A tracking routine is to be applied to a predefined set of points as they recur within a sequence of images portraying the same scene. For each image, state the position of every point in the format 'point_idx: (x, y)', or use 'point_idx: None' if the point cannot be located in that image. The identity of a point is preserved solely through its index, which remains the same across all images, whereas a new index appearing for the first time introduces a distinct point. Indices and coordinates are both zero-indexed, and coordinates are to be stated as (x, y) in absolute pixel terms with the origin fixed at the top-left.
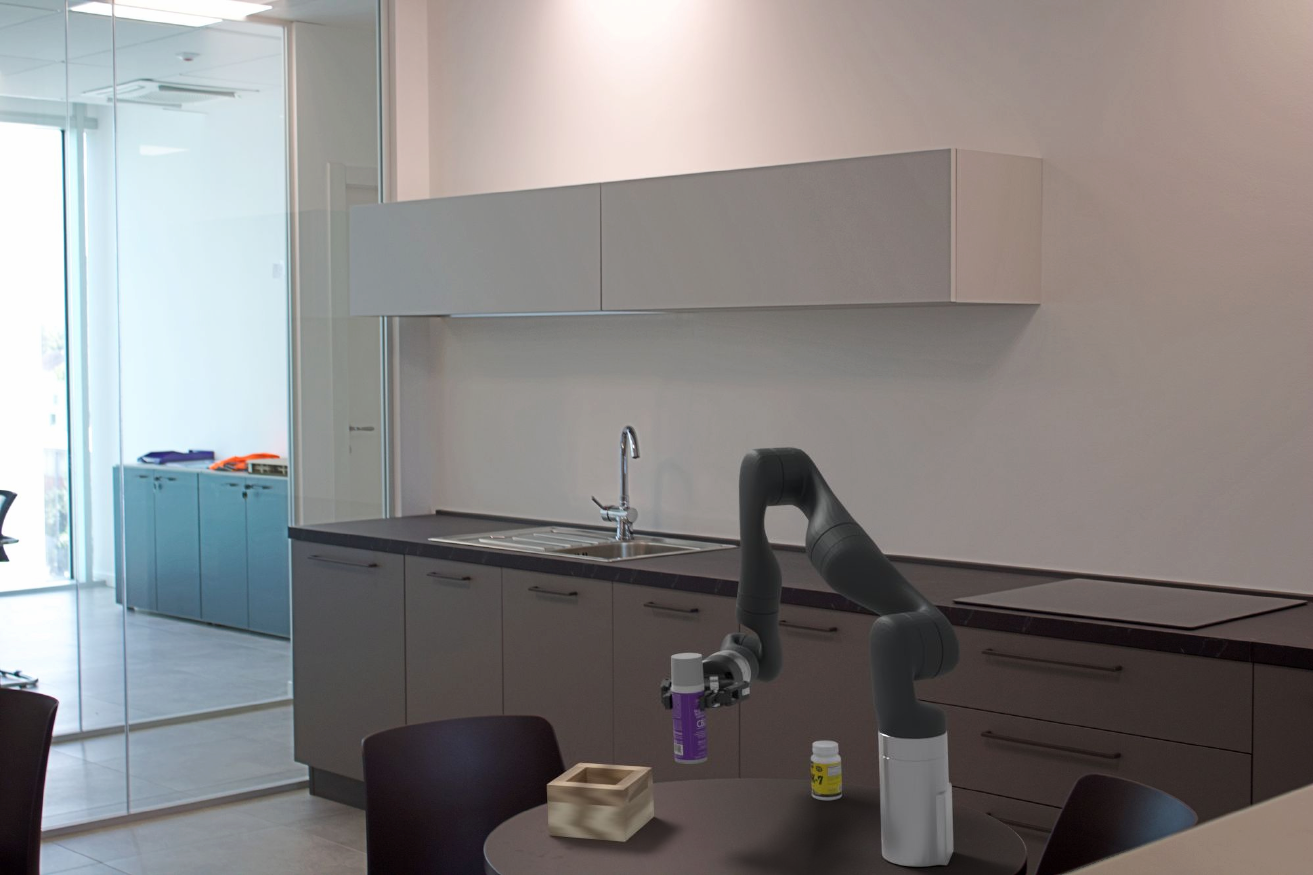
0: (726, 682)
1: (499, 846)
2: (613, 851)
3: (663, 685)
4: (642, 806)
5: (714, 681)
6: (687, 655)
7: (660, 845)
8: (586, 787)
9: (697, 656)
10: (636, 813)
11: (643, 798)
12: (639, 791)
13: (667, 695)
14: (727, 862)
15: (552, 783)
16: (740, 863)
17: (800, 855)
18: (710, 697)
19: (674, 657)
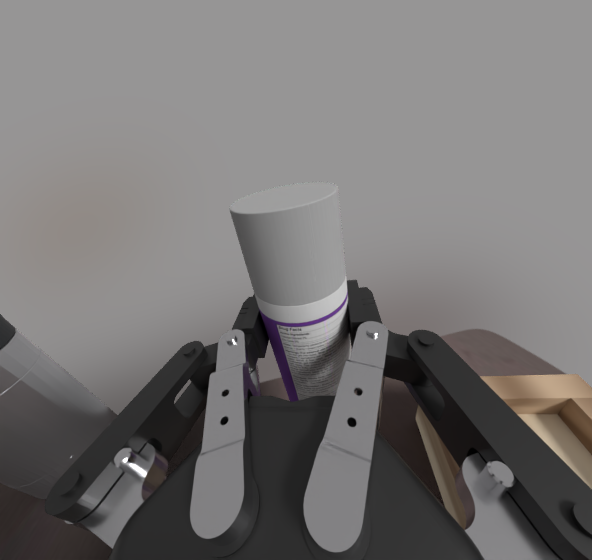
0: (163, 488)
1: (546, 364)
2: (404, 383)
3: (425, 335)
4: (453, 501)
5: (224, 390)
6: (280, 197)
7: None
8: (492, 376)
9: (244, 200)
10: (438, 463)
11: (460, 507)
12: (453, 473)
13: (349, 280)
14: (276, 383)
15: (576, 381)
16: (263, 384)
17: (202, 422)
18: (245, 304)
19: (316, 183)
